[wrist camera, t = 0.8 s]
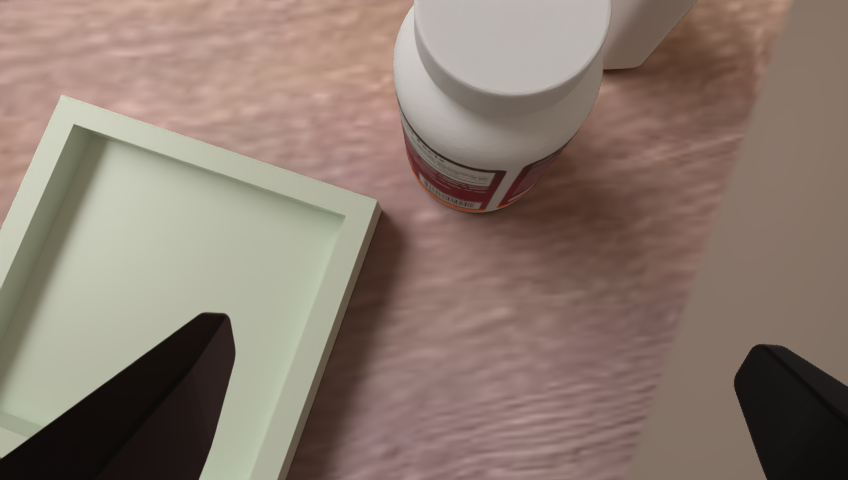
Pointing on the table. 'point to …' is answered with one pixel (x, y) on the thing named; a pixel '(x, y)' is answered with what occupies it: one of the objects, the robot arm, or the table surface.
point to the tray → (172, 277)
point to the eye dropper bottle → (639, 29)
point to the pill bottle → (495, 92)
